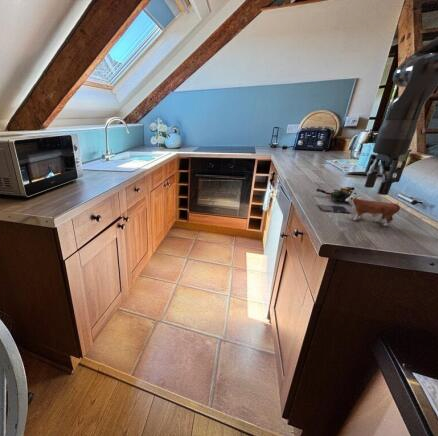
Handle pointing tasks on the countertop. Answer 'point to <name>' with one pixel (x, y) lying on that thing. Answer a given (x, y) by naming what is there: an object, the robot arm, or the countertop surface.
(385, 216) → the bull figurine
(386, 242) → the countertop surface
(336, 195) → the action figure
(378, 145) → the robot arm
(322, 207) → the slate coaster
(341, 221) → the countertop surface
